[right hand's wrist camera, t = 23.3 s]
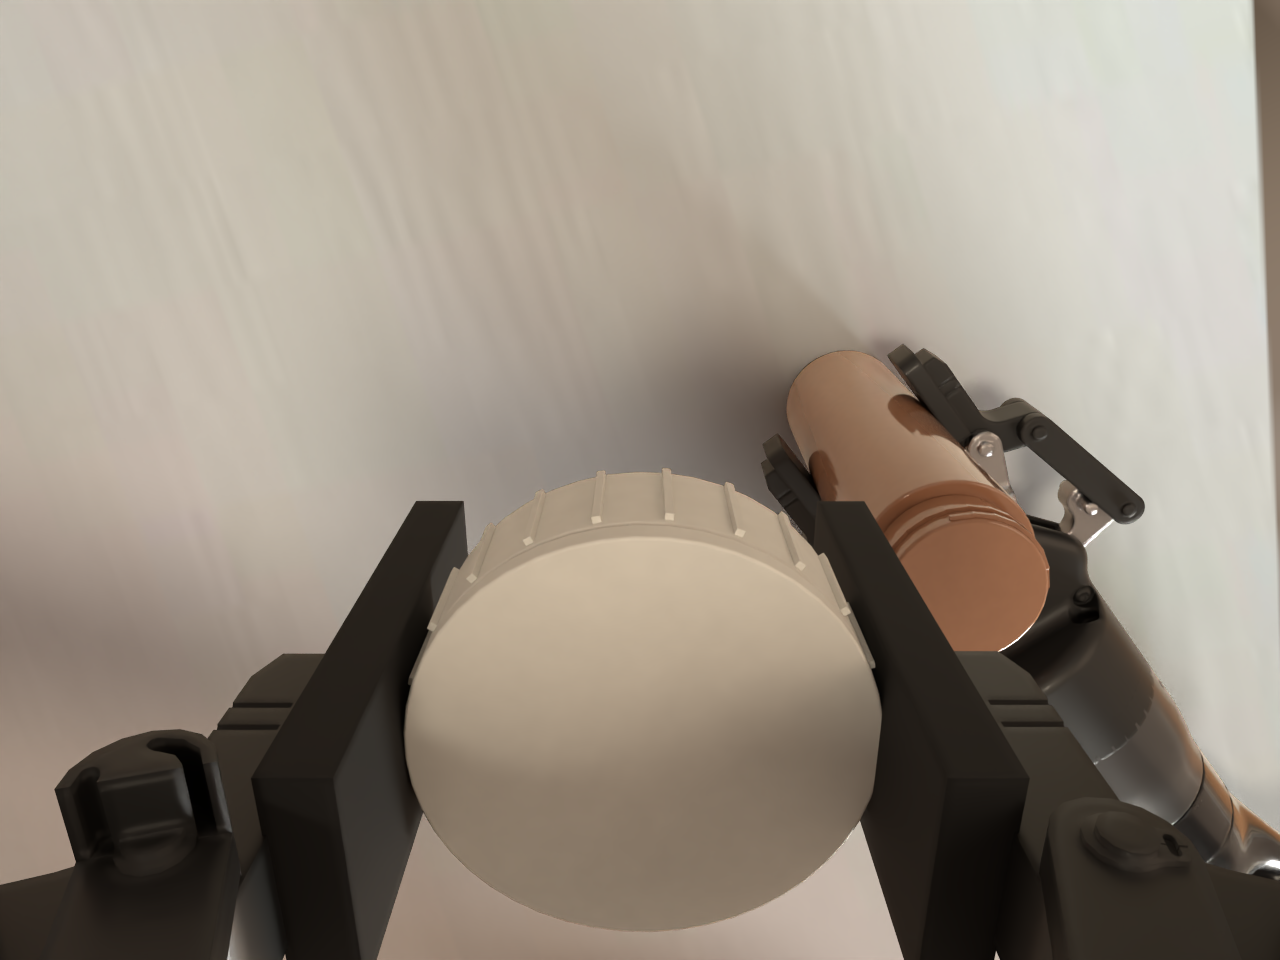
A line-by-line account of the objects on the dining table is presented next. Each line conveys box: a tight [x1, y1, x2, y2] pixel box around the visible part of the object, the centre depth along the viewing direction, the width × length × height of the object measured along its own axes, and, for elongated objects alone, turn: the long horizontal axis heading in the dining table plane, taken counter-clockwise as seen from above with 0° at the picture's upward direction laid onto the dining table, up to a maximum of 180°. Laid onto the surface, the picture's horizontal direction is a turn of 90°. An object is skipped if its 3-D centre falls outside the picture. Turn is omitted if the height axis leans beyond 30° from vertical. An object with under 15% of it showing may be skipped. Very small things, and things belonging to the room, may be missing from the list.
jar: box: [786, 351, 1050, 652], centre depth 32 cm, size 5×5×18 cm
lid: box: [403, 468, 882, 932], centre depth 12 cm, size 6×6×2 cm
